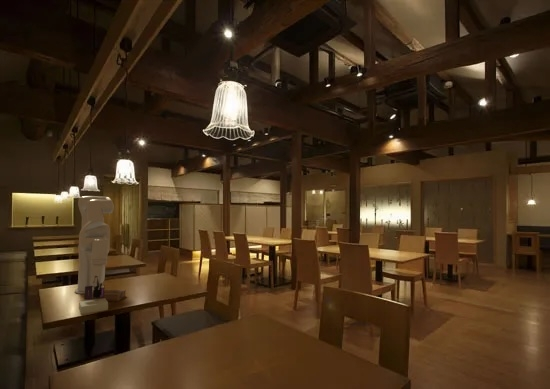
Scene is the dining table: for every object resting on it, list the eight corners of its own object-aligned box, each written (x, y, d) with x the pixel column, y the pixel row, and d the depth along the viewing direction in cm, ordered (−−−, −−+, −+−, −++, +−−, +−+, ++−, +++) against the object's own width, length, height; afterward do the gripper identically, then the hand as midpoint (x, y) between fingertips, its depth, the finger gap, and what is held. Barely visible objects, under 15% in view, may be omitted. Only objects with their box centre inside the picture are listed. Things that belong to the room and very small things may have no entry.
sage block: (78, 309, 161) (79, 301, 161) (104, 305, 168) (105, 298, 169) (80, 314, 153) (81, 306, 153) (107, 310, 160) (108, 302, 161)
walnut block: (104, 296, 185) (105, 289, 185) (125, 296, 185) (125, 290, 185) (95, 301, 175) (96, 294, 175) (117, 301, 175) (117, 294, 175)
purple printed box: (85, 286, 162) (104, 284, 167) (85, 287, 166) (104, 285, 171) (84, 299, 160) (104, 297, 165) (84, 300, 164) (103, 298, 169)
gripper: (95, 259, 174) (94, 292, 173) (86, 264, 158) (85, 301, 157) (110, 259, 176) (108, 291, 175) (103, 264, 160) (101, 300, 159)
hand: (97, 295), depth 166 cm, fingers closed on purple printed box, 4 cm apart
